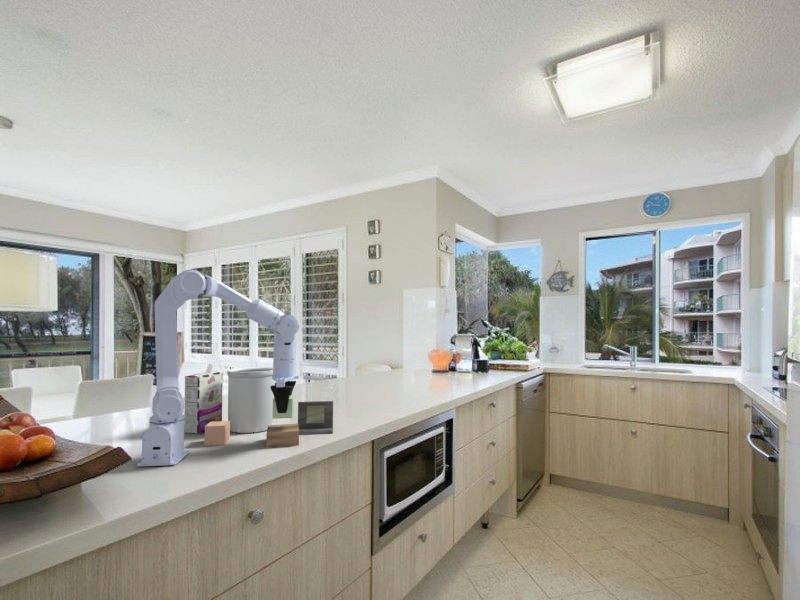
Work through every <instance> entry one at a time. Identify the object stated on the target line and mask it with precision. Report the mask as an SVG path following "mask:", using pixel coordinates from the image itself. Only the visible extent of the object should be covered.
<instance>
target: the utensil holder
mask: <svg viewBox="0 0 800 600" xmlns="http://www.w3.org/2000/svg"><path fill="white" fill-rule="evenodd" d="M226 371H227V372H226V375H227V376H228V377H227V381H228V382H227V419H228V420H227V421H230V432H232V433H236V432H237V433H238V434H251V433H253V432H254V433H260V432H261V433H262V432H267V427H268V425H278V424H277V422H278V421H277V420H278V418H277V419H272V415H273V398H274V395H273V392H272V391H271V386H272V385H275V383H276V381H274V380H273V379H272V376H273V366H256V367H255V366H253V367H251V366H250V367H242V368H241V367H240V368H239V367H238V368H231V369H230V368H229V369H227V370H226ZM254 433H253V434H254Z"/></svg>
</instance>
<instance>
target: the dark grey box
mask: <svg viewBox="0 0 800 600" xmlns="http://www.w3.org/2000/svg"><path fill="white" fill-rule="evenodd" d="M333 418H334V400H324V401H323V400H321V401H320V400H318V401H317V400H316V401H298V403H297V424H298V427H299V435H323V434H325V435H326V434H333V433H334V419H333Z"/></svg>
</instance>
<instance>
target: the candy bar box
mask: <svg viewBox="0 0 800 600" xmlns="http://www.w3.org/2000/svg"><path fill="white" fill-rule="evenodd" d="M223 374H224V373H223V371H215V370H214V371H213V370H212V371H205V372H201V373H194V374H191V375H189V374H188V375H186V376H184V415H185V426H184V434H188V433H192V434H193V435H194V434H195V435H199V434H202V433H205V432H204V431H205V426H206V425H207V424H208V423H210V422H218V421H223Z"/></svg>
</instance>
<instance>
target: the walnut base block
mask: <svg viewBox="0 0 800 600" xmlns="http://www.w3.org/2000/svg"><path fill="white" fill-rule="evenodd" d="M265 442H266V447H271V448H279V447H278V446H285V447H293V446H292V445H298V446H299V445H300V434H299V427H298V423H285V424H284V423H282V424H276V425H268V427H267V430H266V441H265ZM266 447H265V448H266Z"/></svg>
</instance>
